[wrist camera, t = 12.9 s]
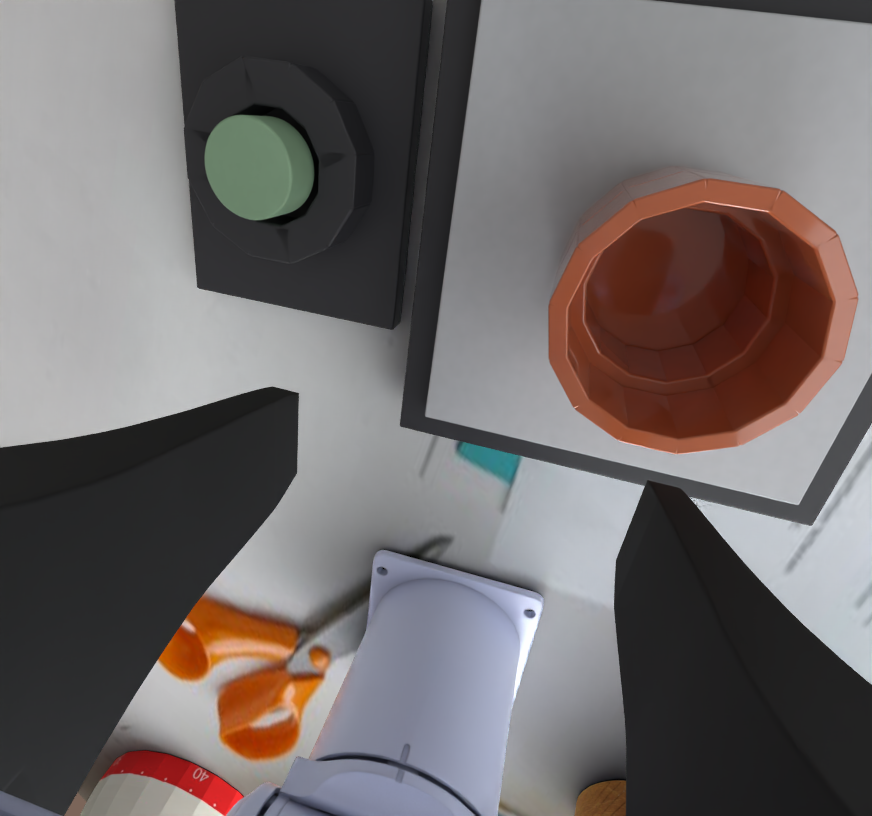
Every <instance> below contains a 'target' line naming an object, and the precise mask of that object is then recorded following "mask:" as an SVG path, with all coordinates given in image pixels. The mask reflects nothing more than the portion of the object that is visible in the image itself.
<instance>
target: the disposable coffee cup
mask: <svg viewBox="0 0 872 816" xmlns="http://www.w3.org/2000/svg"><path fill="white" fill-rule="evenodd" d="M575 816H626V781H624V780H613V781H605V782H601V783H597V784H594V785H592V786H590V787H588V788H586V789H585V790H584V791H582V793H581V794H580V795H579V796H578V799H577V803H576V810H575Z"/></svg>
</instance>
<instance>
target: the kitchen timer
mask: <svg viewBox="0 0 872 816" xmlns="http://www.w3.org/2000/svg"><path fill="white" fill-rule="evenodd" d="M242 798H243V796H242V795H241V794H240V793H239V792H238V791H237V790H236V789H234V788H233V787H231V786H230V785H229V784H227V783H226V782H225V781H223V780H222V779H220V778H219V777H218V776H216V775H214V774H212V773H211V772H209V771H207V770H205V769H203V768H201V767H199V766H197V765H195V764H193V763H192V762H189V761H186V760H183V759H180V758H177V757H175V756H172V755H169V754H164V753H158V752H152V751H146V750H145V751H133V752H127V753H125V754H123V755H122V756H120V757H118V758H116V760H115V761H114V762H113V764H112V765H111V766H110V768H109V769H108V770H107V772H106V773H105V774H104V775H103V777H102V778H101V779H100V781H99V782H98V784H97V785H96V787H95V789H94V790H93V792H92V794H91V795H90V797H89V799H88V801H87V802H86V804H85V806H84V808H83V810H82V812H81V814H80V816H226V815H227V813H228V812H229V811H230V810H231V808H232V807H233V806H234V805H235V804H236V803H237V802H238V801H239V800H240V799H242Z"/></svg>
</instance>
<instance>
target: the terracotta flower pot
mask: <svg viewBox="0 0 872 816" xmlns="http://www.w3.org/2000/svg"><path fill="white" fill-rule="evenodd" d="M858 294H859V293H858V290H857V287H856V284H855V281H854V278H853V275H852V272H851V269H850V266H849V263H848V260H847V258H846V255H845V252H844V249H843V246H842V243H841V240H840V237H839V235H838V234H837V232H836V231H835V230H834V229H833V228H832V227H830V226H829V225H828V224H826V223H825V222H824V221H823V220H821V219H820V218H819V217H817V216H816V215H815V214H814V213H812V212H811V211H810V210H809V209H807V208H806V207H805V206H803V205H802V204H801V203H800V202H798V201H797V200H796V199H795V198H793V197H792V196H791V195H789V194H788V193H787V192H786V191H784V190H781V189H779V188H776V187H773V186H769V185H766V184H762V183H759V182H755V181H752V180H749V179H744V178H741V177H737V176H734V175H731V174H727V173H724V172H718V171H711V170H705V169H698V168H691V167H685V166H678V165H677V166H668V167H665V168H662V169H658V170H655V171H652V172H649V173H645V174H642V175H639V176H636V177H632V178H629V179H626V180H623V181H622V183H619V184H617V185H616V186H615V187H613V188H612V189H611V190H610V191H609V192H608V193H606V194H605V195H604V196H603V197H602V198H601V199H599V200H598V201H597V202H596V203H595V204H594V205H592V206H591V207H590V208H589V209H588V210H587V211H585V212H584V213H583V215H582V217H580V218H579V220H578V222H577V224H576V226H575V228H574V230H573V232H572V234H571V236H570V238H569V240H568V242H567V245H566V247H565V249H564V251H563V253H562V255H561V257H560V261H559V265H558V269H557V273H556V277H555V280H554V284H553V288H552V292H551V296H550V300H549V305H548V359H549V363H550V365H551V367H552V369H553V370H554V372H555V374H556V376H557V378H558V380H559V382H560V384H561V386H562V388H563V389H564V391H565V393H566V395H567V397H568V399H569V401H570V403H571V405H572V407H573V408H575V410H576V411H578V412H579V413H580V414H582V415H583V416H584V417H586V418H587V419H589V420H590V421H591V422H593V423H594V424H595V425H597V426H598V427H600V428H601V429H602V430H604V431H605V432H606V433H608V434H609V435H611V436H612V437H613V438H615V439H616V440H618V441H620V442H623V443H627V444H632V445H636V446H640V447H645V448H649V449H653V450H658V451H662V452H666V453H671V454H687V453H694V452H701V451H709V450H716V449H723V448H731V447H738V446H739V445H743V444H745V443H747V442H749V441H751V440H753V439H755V438H757V437H758V436H760V435H762V434H764V433H766V432H768V431H770V430H772V429H773V428H775V427H777V426H779V425H781V424H783V423H785V422H787V421H788V420H790V419H792V418H794V417H796V416H798V415H799V413H801V412H802V411H803V410H804V409H805V408H806V406H807V405H808V404H809V403H810V402H811V400H812V399H813V398H814V397H815V396H816V394H817V393H818V392H819V391H820V390H821V388H822V387H823V386H824V385H825V384H826V382H827V381H828V380H829V379H830V378H831V376H832V375H833V374H834V373H835V372H836V370H837V369H838V368H839V367H840V366H841V364H842V361H844V358H845V354H846V350H847V346H848V341H849V337H850V333H851V329H852V325H853V320H854V316H855V312H856V308H857V304H858V300H859V298H858Z"/></svg>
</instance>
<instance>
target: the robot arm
mask: <svg viewBox="0 0 872 816" xmlns="http://www.w3.org/2000/svg"><path fill="white" fill-rule="evenodd" d="M298 406H299V393H296V392H292V391H288V390H284V389H280V388H276V387H268V388H262V389H258V390H254V391H251V392H247V393H243V394H240V395H237V396H233V397H230V398H227V399H224V400H220V401H217V402H214V403H210V404H207V405H204V406H201V407H197V408H194V409H191V410H187V411H184V412H181V413H177V414H173V415H170V416H166V417H162V418H158V419H155V420H151V421H147V422H144V423H140V424H136V425H132V426H128V427H124V428H120V429H115V430H110V431H106V432H101V433H96V434H91V435H85V436H80V437H75V438H69V439H63V440H57V441H49V442H41V443H34V444H26V445H18V446H11V447H3V448H0V816H64V815H65V813H66V811H67V810H68V808H69V806H70V804H71V803H72V801H73V799H74V797H75V796H76V794H77V792H78V790H79V789H80V787H81V785H82V783H83V782H84V780H85V778H86V776H87V774H88V773H89V771H90V769H91V767H92V766H93V764H94V762H95V760H96V759H97V757H98V755H99V753H100V752H101V750H102V748H103V747H104V745H105V743H106V742H107V740H108V738H109V737H110V735H111V733H112V732H113V730H114V728H115V727H116V725H117V724H118V722H119V720H120V719H121V717H122V715H123V714H124V712H125V710H126V709H127V707H128V705H129V704H130V702H131V700H132V699H133V697H134V695H135V694H136V692H137V691H138V689H139V688H140V686H141V685H142V683H143V682H144V680H145V678H146V677H147V675H148V674H149V672H150V671H151V669H152V668H153V666H154V664H155V663H156V661H157V660H158V658H159V657H160V655H161V654H162V652H163V651H164V649H165V647H166V646H167V645H168V643H169V642H170V640H171V639H172V637H173V636H174V634H175V633H176V631H177V630H178V629H179V627H180V626H181V624H182V623H183V621H184V620H185V618H186V617H187V615H188V614H189V612H190V611H191V610H192V608H193V607H194V605H195V604H196V603H197V601H198V600H199V599H200V598H201V596H202V595H203V594H204V593H205V591H206V590H207V589H208V587H209V586H210V585H211V584H212V583H213V582H214V580H215V579H216V578H217V577H218V576H219V574H220V573H221V572H222V571H223V570H224V569H225V567H226V566H227V565H228V564H229V563H230V562H231V560H232V559H233V558H234V557H235V556H236V555H237V553H238V552H239V551H240V550H241V549H242V548H243V546H244V545H245V544H246V543H247V542H248V540H249V539H250V538H251V537H252V536H253V535H254V533H255V532H256V531H257V530H258V529H259V527H260V526H261V525H262V524H263V523H264V521H265V520H266V519H267V518H268V517H269V515H270V514H271V513H272V512H273V510H274V509H275V508H276V506H277V505H278V503H279V501H280V500H281V498H282V497H283V495H284V494H285V492H286V490H287V489H288V487H289V485H290V484H291V482H292V480H293V479H294V477H295V475H296V474H297V450H298ZM381 567H384V568H385V569H386V570H384V569H382V568H381ZM543 605H544V599H543V597H542V596H541V595H540V594H538V593H536V592H533V591H530V590H526V589H522V588H519V587H515V586H512V585H508V584H505V583H501V582H497V581H494V580H490V579H487V578H483V577H480V576H476V575H473V574H469V573H465V572H462V571H458V570H455V569H451V568H448V567H444V566H441V565H437V564H433V563H430V562H426V561H423V560H419V559H416V558H412V557H408V556H405V555H401V554H398V553H394V552H391V551H387V550H380V551H378V552H377V553H376V555H375V557H374V559H373V568H372V578H371V588H370V598H369V608H368V618H367V628H366V633H365V635H364V637H363V639H362V642H361V644H360V646H359V648H358V650H357V653H356V655H355V657H354V659H353V662H352V664H351V666H350V668H349V670H348V673H347V675H346V677H345V679H344V682H343V684H342V686H341V688H340V690H339V693H338V695H337V697H336V699H335V701H334V704H333V706H332V708H331V710H330V713H329V715H328V717H327V719H326V721H325V724H324V726H323V728H322V730H321V733H320V735H319V737H318V739H317V741H316V744H315V746H314V748H313V750H312V752H311V755H310V757H309V759H306V758H303V757H296V758H295V760H294V762H293V764H292V767H291V769H290V771H289V773H288V775H287V777H286V779H285V781H284V783H283V786H282V787H281V786H279V785H276V784H274V783H271V782H266V783H263V784H261V785H260V786H258V787H257V788H256V789H255V790H254V791H253V792H251V793H250V794H248V795H246V796H245V797H243V798H242V799H240V800H239V801H238V802H237V803H236V804H235V805H234V806H233V807H232V808H231V810H230V811H229V812H228V813H227V815H226V816H497V814H498V807H499V799H500V792H501V785H502V777H503V770H504V763H505V755H506V748H507V741H508V734H509V726H510V719H511V712H512V707H513V703H514V700H515V697H516V694H517V690H518V687H519V684H520V681H521V678H522V674H523V671H524V668H525V665H526V662H527V658H528V655H529V652H530V649H531V646H532V642H533V639H534V636H535V633H536V630H537V626H538V623H539V620H540V617H541V614H542V610H543ZM527 609H531V610H533V611H528V610H527ZM614 612H615V623H616V634H617V645H618V655H619V665H620V675H621V685H622V695H623V706H624V716H625V731H626V816H872V685H871V684H870V683H869V682H867V681H866V680H865V679H864V678H863V677H862V676H860V675H859V674H858V673H857V672H856V671H854V670H853V669H852V668H851V667H850V666H849V665H847V664H846V663H845V662H844V661H843V660H842V659H840V658H839V657H838V656H837V655H836V654H835V653H834V652H833V651H832V650H831V649H829V648H828V647H827V646H826V645H825V644H824V643H823V642H822V641H821V640H820V639H818V638H817V637H816V636H815V635H814V634H813V633H812V632H811V631H810V630H809V629H807V628H806V627H805V626H804V625H803V624H802V623H801V622H800V621H799V620H798V619H797V618H796V617H795V616H794V615H793V614H792V613H791V612H790V611H789V610H788V609H787V608H786V607H785V606H784V605H783V604H782V603H781V602H780V601H779V600H778V599H777V598H776V597H775V596H774V595H773V593H772V592H771V591H770V590H769V589H768V588H767V587H766V586H765V585H764V584H763V583H762V582H761V581H760V580H759V579H758V578H757V577H756V575H755V574H754V573H753V572H752V571H751V570H750V569H749V568H748V567H747V565H746V564H745V563H744V562H743V561H742V560H741V559H740V557H739V556H738V555H737V554H736V553H735V552H734V551H733V549H732V548H731V547H730V546H729V545H728V543H727V542H726V541H725V540H724V539H723V538H722V536H721V535H720V534H719V533H718V532H717V530H716V529H715V528H714V527H713V525H712V524H711V523H710V522H709V521H708V519H707V518H706V517H705V516H704V515H703V513H702V512H701V511H700V510H699V509H698V507H697V506H696V505H695V504H694V502H693V501H692V500H691V499H690V498H689V497H688V496H687V494H686V493H685V492H684V491H683V490H682V489H681V488H678V487H674V486H670V485H666V484H662V483H658V482H654V481H650V480H647V482H646V485H645V488H644V490H643V493H642V495H641V498H640V500H639V503H638V505H637V508H636V511H635V513H634V516H633V518H632V521H631V523H630V526H629V528H628V531H627V534H626V536H625V539H624V541H623V544H622V546H621V549H620V551H619V554H618V556H617V559H616V571H615V593H614Z"/></svg>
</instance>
